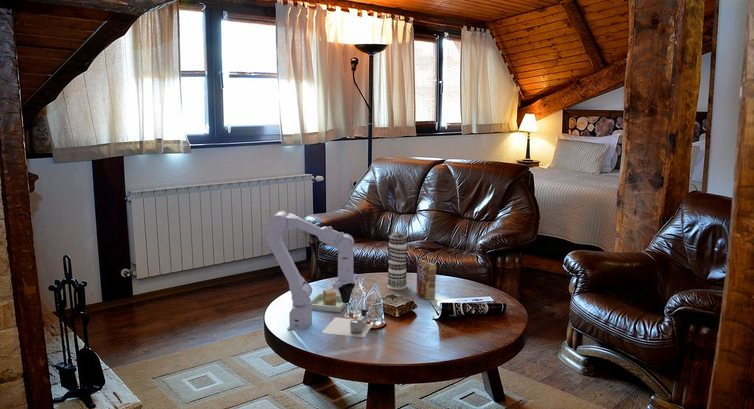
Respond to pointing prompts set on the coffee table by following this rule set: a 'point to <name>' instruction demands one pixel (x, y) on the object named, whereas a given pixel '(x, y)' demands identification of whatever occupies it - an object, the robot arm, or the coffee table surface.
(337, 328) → the board
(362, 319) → the crank
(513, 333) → the coffee table surface
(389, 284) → the patterned cylinder
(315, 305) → the tray
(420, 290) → the candy box
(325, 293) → the block
